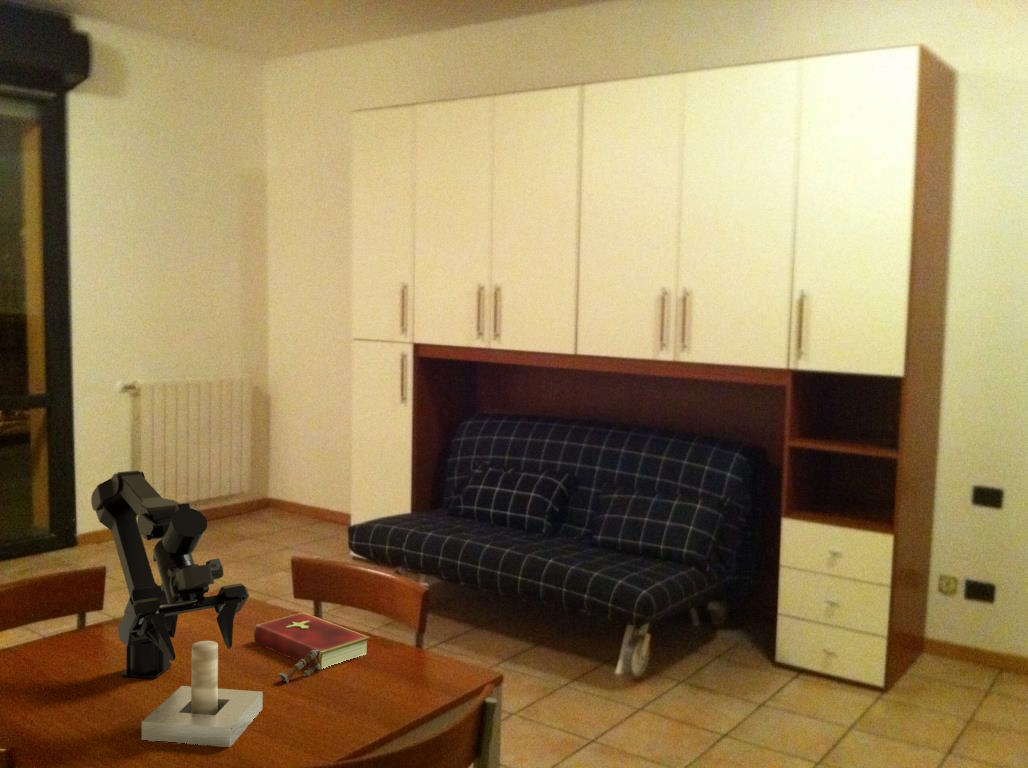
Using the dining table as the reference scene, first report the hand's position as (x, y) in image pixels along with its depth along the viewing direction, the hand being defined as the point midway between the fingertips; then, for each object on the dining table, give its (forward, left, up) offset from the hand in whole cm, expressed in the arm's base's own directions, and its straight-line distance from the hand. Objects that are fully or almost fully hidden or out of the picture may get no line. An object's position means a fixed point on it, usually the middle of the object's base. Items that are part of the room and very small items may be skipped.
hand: (202, 653), depth 153 cm
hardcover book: (+7, +35, -12) cm, 38 cm away
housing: (+1, -1, -11) cm, 11 cm away
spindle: (+1, -1, -11) cm, 11 cm away
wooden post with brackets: (+9, +21, -12) cm, 26 cm away
